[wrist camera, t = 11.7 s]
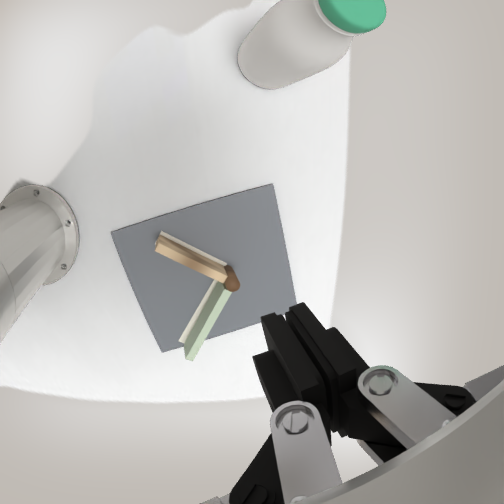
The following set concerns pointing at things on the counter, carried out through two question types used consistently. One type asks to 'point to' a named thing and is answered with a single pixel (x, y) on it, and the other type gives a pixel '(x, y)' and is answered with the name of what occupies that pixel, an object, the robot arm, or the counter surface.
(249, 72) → the milk bottle
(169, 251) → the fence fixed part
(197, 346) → the fence hinged panel
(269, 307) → the board
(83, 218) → the counter surface
